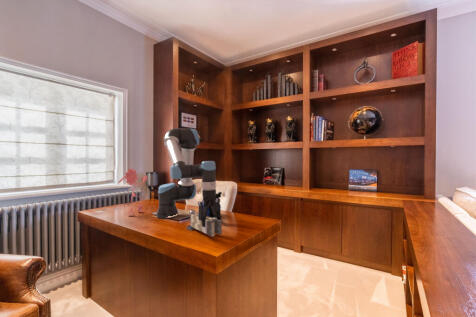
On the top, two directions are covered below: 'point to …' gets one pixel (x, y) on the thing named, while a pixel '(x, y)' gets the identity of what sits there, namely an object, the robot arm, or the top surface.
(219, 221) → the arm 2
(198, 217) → the robot arm
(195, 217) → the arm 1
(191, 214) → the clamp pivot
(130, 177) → the figurine
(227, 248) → the top surface
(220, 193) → the chess piece
